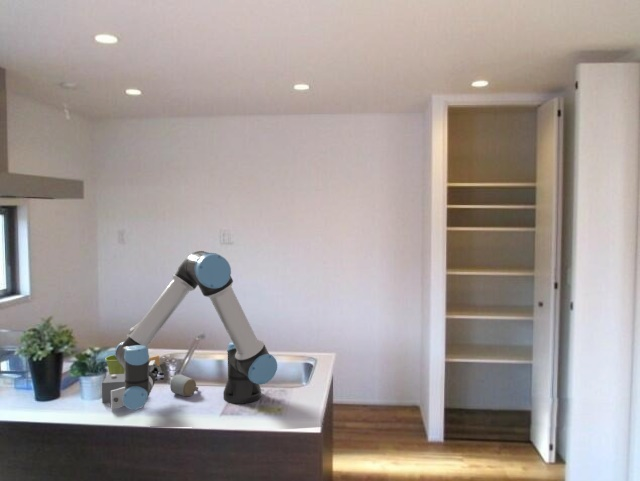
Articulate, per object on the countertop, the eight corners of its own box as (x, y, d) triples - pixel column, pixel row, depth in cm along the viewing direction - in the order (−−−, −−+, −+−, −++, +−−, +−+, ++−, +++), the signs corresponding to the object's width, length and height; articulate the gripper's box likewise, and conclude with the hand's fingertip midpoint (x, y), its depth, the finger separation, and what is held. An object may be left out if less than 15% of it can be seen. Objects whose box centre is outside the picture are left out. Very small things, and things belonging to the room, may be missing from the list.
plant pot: (114, 381, 221) (114, 361, 220) (101, 377, 225) (100, 358, 225) (132, 375, 229) (132, 356, 228) (118, 371, 234) (118, 353, 233)
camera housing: (143, 391, 208) (143, 371, 207) (138, 401, 198) (138, 379, 197) (108, 393, 206) (108, 372, 205) (102, 402, 196) (101, 380, 195)
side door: (158, 393, 204) (158, 355, 203) (161, 395, 203) (160, 356, 202) (110, 408, 189) (110, 367, 188) (113, 410, 188) (112, 368, 187)
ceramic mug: (184, 399, 200) (184, 380, 200) (169, 395, 204) (169, 376, 204) (203, 391, 209) (203, 373, 209) (188, 388, 213) (188, 370, 213)
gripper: (122, 395, 176) (135, 373, 199) (161, 393, 178) (170, 372, 201) (122, 374, 175) (135, 354, 199) (161, 372, 178) (170, 353, 201)
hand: (153, 363), depth 200 cm, fingers closed
